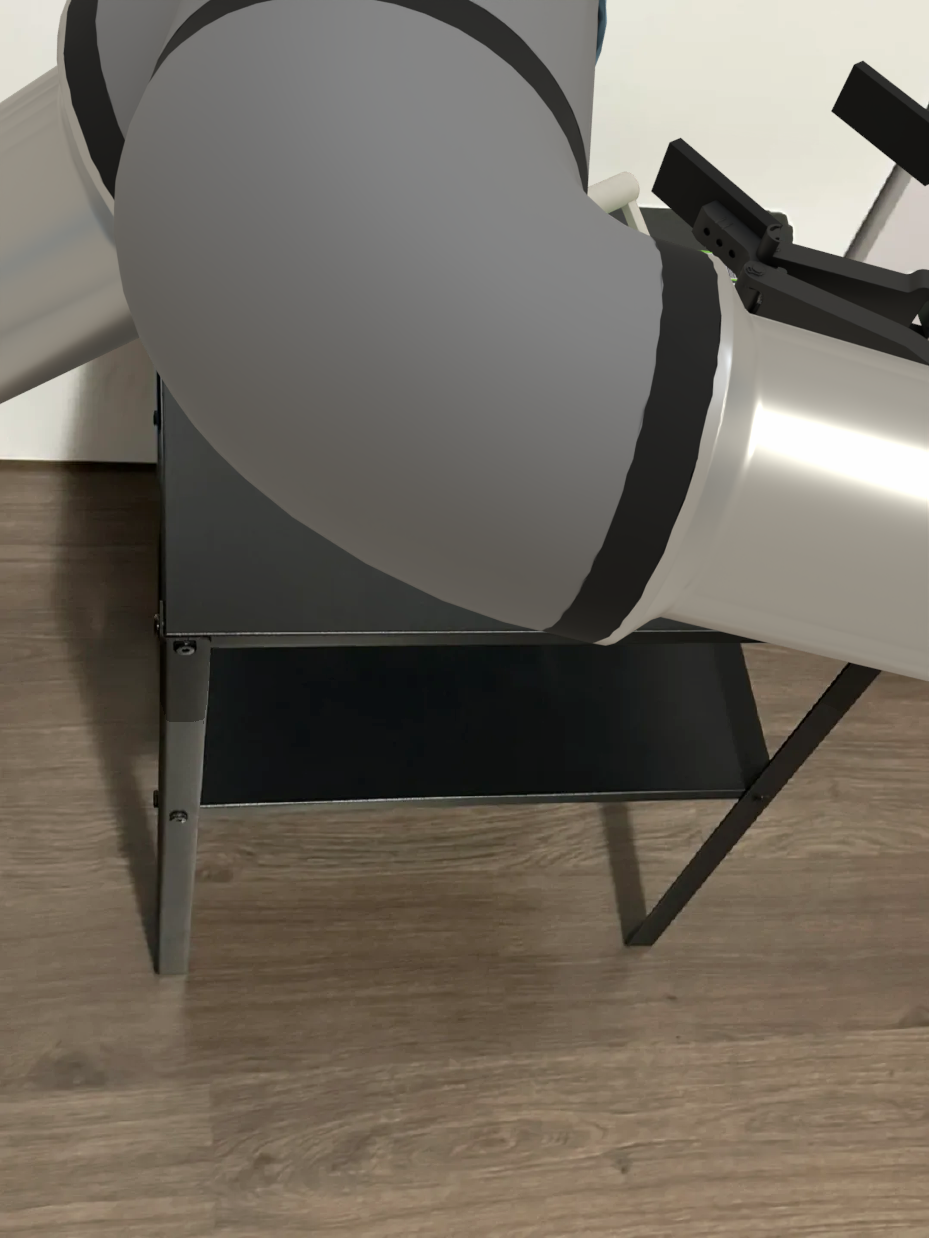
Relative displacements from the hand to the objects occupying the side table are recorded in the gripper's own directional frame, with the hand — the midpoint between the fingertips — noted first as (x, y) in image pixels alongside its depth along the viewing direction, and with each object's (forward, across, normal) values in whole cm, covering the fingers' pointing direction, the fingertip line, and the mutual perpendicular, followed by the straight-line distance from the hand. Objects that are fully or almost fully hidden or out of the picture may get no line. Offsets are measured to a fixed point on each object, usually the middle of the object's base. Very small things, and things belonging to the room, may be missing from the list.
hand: (760, 123), depth 60 cm
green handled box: (+5, 0, -18) cm, 19 cm away
